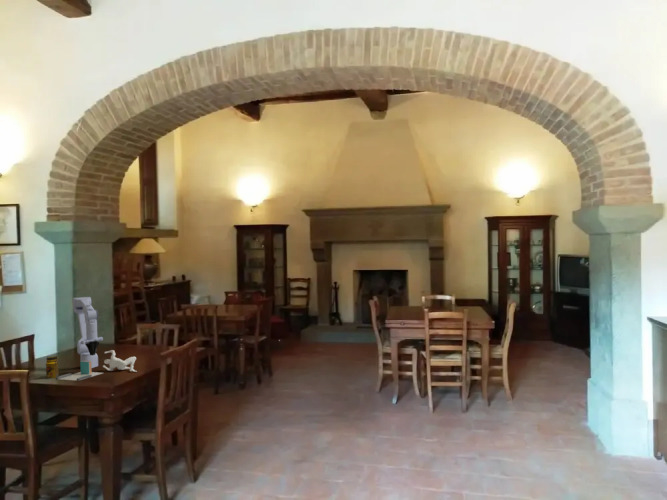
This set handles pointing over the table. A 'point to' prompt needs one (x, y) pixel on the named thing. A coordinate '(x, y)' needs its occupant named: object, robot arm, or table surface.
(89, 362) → the tile
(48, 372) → the condiment
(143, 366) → the table surface
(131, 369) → the person figurine
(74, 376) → the board
